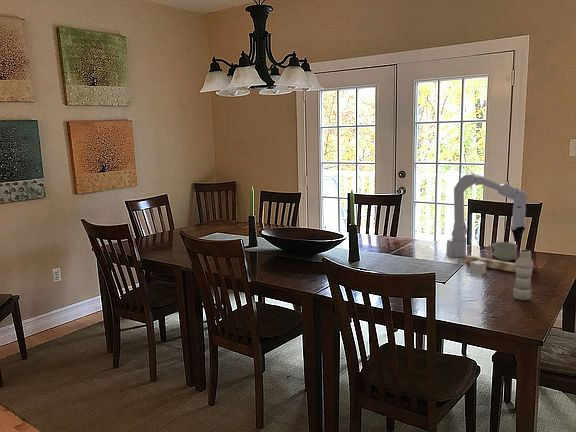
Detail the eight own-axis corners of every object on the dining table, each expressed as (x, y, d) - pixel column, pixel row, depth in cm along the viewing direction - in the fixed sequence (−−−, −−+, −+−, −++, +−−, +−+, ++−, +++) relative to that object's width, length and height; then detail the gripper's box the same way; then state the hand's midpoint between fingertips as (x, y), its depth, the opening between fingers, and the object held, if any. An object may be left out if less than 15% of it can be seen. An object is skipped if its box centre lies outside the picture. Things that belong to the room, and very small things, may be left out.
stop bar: (461, 262, 242) (461, 255, 242) (463, 261, 244) (464, 254, 244) (515, 272, 225) (515, 264, 224) (517, 270, 226) (517, 263, 226)
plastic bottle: (509, 297, 193) (512, 249, 189) (525, 296, 194) (528, 248, 190) (518, 302, 187) (521, 253, 183) (534, 301, 187) (538, 252, 184)
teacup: (516, 257, 248) (517, 242, 247) (516, 263, 239) (517, 247, 237) (487, 255, 254) (488, 240, 253) (486, 260, 244) (487, 245, 243)
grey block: (477, 274, 222) (477, 264, 221) (469, 272, 227) (470, 261, 226) (485, 273, 224) (486, 263, 223) (477, 270, 229) (478, 260, 228)
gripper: (522, 218, 229) (520, 245, 232) (532, 213, 239) (530, 239, 242) (507, 216, 234) (505, 243, 237) (517, 212, 244) (516, 237, 247)
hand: (517, 241), depth 240 cm, fingers closed
